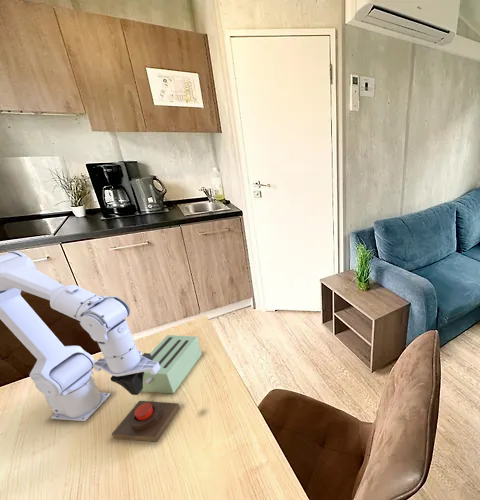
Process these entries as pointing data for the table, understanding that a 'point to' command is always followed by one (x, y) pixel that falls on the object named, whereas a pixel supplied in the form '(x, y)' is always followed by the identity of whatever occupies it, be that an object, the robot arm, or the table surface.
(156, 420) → the button base
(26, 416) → the table surface
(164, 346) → the toaster
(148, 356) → the browning slider
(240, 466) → the table surface
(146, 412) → the button
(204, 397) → the table surface
